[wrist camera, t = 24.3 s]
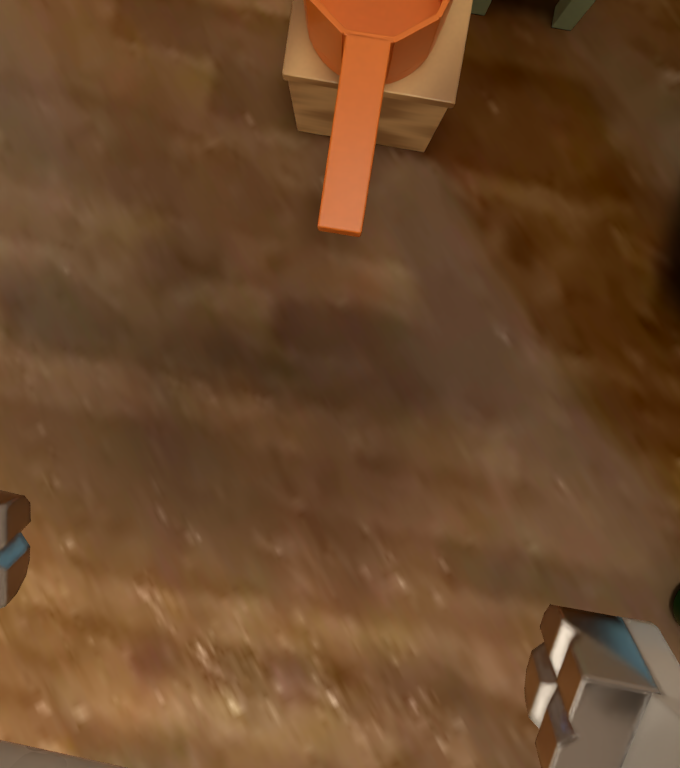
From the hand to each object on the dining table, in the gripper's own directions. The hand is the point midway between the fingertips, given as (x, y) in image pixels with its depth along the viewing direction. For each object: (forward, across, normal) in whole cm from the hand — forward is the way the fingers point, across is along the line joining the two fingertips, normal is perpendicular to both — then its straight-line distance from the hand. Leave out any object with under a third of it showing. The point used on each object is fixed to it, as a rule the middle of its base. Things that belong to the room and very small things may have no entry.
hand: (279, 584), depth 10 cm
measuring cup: (+31, -3, +10) cm, 33 cm away
